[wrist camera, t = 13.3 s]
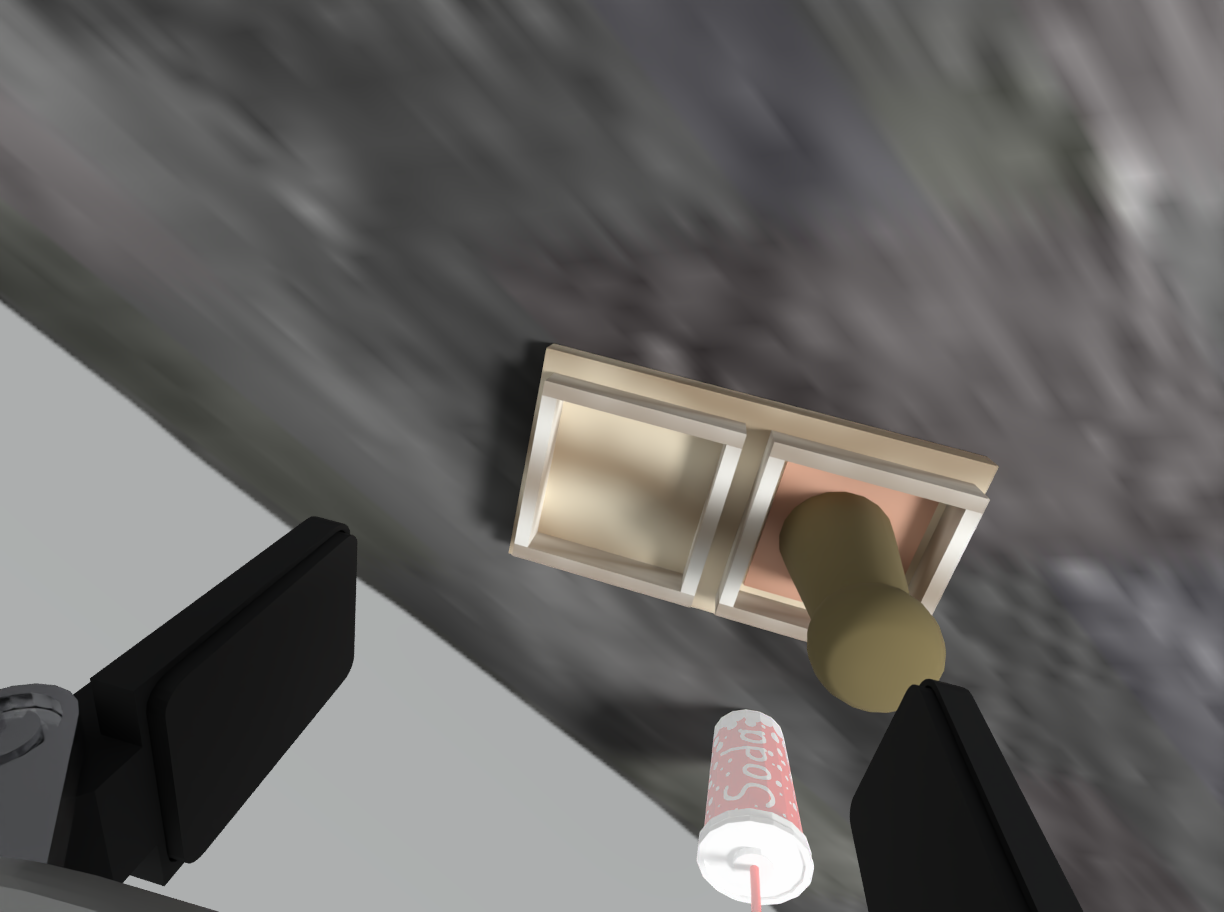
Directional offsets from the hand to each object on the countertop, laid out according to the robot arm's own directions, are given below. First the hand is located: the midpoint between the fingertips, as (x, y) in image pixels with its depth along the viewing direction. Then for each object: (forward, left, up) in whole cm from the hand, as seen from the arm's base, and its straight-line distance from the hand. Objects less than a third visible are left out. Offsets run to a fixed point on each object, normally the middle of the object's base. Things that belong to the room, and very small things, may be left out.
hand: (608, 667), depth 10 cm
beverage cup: (+23, +10, -25) cm, 36 cm away
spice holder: (+7, +4, -25) cm, 26 cm away
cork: (+7, +10, -24) cm, 27 cm away
